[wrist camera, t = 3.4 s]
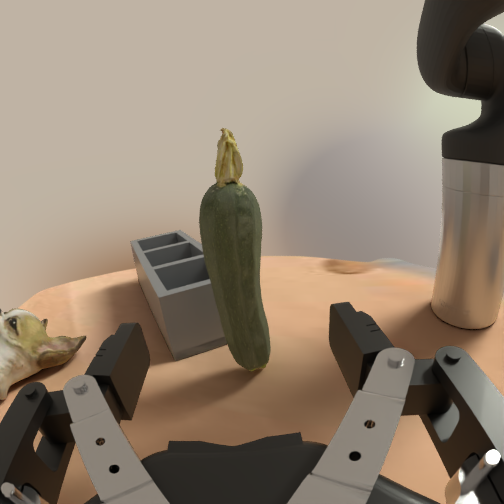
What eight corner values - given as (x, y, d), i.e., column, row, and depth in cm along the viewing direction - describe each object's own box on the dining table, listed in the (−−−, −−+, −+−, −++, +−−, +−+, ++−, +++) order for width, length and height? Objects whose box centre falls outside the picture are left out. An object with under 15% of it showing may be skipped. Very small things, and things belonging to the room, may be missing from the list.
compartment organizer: (139, 282, 47) (130, 241, 45) (186, 269, 51) (180, 230, 49) (175, 361, 27) (158, 297, 25) (252, 334, 31) (245, 273, 29)
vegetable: (264, 394, 22) (237, 119, 16) (215, 384, 24) (174, 130, 18) (278, 361, 26) (261, 124, 20) (234, 355, 28) (206, 132, 22)
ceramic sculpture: (-62, 319, 17) (32, 276, 30) (-32, 387, 19) (50, 337, 33) (-46, 350, 13) (75, 288, 26) (-1, 431, 15) (97, 360, 29)
